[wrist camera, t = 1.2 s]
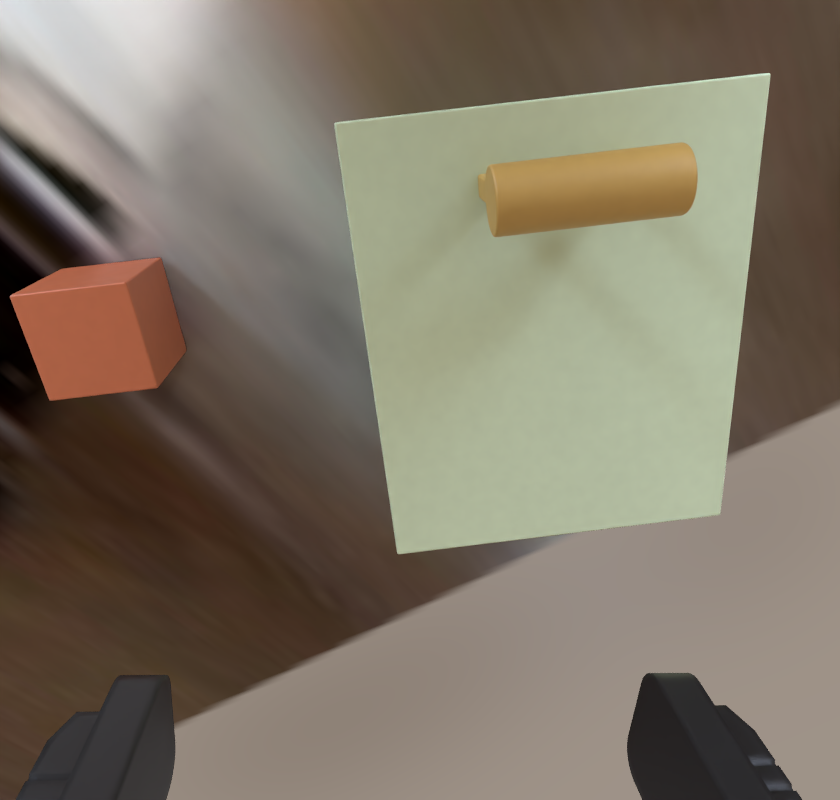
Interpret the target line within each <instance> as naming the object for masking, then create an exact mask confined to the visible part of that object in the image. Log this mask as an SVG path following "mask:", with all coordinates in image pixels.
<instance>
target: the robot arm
mask: <svg viewBox="0 0 840 800" xmlns="http://www.w3.org/2000/svg"><path fill="white" fill-rule="evenodd" d="M627 753H628V761H629V766H630V770H631V774H632V777H633V779H634V782H635V784H636V786H637V789H638V791H639V793H640V795H641V797H642V800H802V799H801V797H800V796H799V794H798V793H797V792H796V791H793V789H792V786H791V783H790V781H789V780H788V778H787V777H786V775H785V774H784V773H783V771H782V770H781V768H780V767H779V766H776V765H775V759H774V758H773V757H772V755H771V754H770V752H769V751H768V749H767V748H766V746H765V745H764V744H763V742H762V741H761V739H760V738H759V736H758V735H757V733H756V732H755V730H753V729H752V728H751V727H750V726H749V725H747V723H745V722H744V721H743V720H742V719H741V718H740V717H739V716H737V715H736V714H735V713H734V712H733V711H731V710H730V709H729V708H728V707H727V706H726V705H719V706H715V705H714V704H713V702H712V701H711V699H710V697H709V696H708V694H707V693H706V691H705V690H704V688H703V687H702V685H701V684H700V682H699V681H698V679H697V678H696V677H695V676H694V675H692V674H690V673H648V674H646V675H645V676H644V678H643V680H642V683H641V687H640V691H639V695H638V699H637V703H636V707H635V711H634V715H633V719H632V723H631V727H630V731H629V735H628V742H627ZM174 760H175V735H174V721H173V709H172V696H171V684H170V678H169V676H168V675H120V676H118V677H117V678H116V680H115V681H114V683H113V685H112V687H111V689H110V691H109V693H108V695H107V697H106V699H105V702H104V704H103V706H102V708H101V710H100V712H76V713H75V714H74V715H73V716H72V717H71V718H70V719H69V720H68V721H67V722H66V723H65V724H64V725H63V726H62V727H61V728H60V729H59V730H58V731H57V732H56V733H55V734H54V735H53V736H52V737H51V738H50V739H49V740H48V741H47V742H46V744H45V746H44V748H43V750H42V752H41V754H40V756H39V757H38V759H37V761H36V763H35V765H34V767H33V769H32V770H31V772H30V774H29V780H28V781H26V782H25V783H24V785H23V787H22V789H21V791H20V793H19V795H18V797H17V798H16V800H166V798H167V795H168V791H169V788H170V784H171V780H172V775H173V769H174Z"/></svg>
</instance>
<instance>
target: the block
mask: <svg viewBox="0 0 840 800" xmlns="http://www.w3.org/2000/svg"><path fill="white" fill-rule="evenodd" d="M10 299H11V301H12V304H13V307H14V309H15V312H16V314H17V317H18V320H19V322H20V325H21V327H22V330H23V333H24V335H25V338H26V340H27V343H28V346H29V348H30V351H31V353H32V356H33V359H34V361H35V364H36V366H37V369H38V372H39V374H40V377H41V379H42V382H43V385H44V387H45V390H46V392H47V395H48V398H49V400H50V401H53V400H62V399H70V398H78V397H87V396H95V395H104V394H112V393H121V392H129V391H137V390H146V389H154V388H158V387H159V386H160V384H161V383H162V382H163V380H164V379H165V378H166V377H167V375H168V374H169V373H170V371H171V370H172V369H173V368H174V366H175V365H176V364H177V362H178V361H179V360H180V359H181V357H182V356H183V355H184V353H185V352H186V346H185V342H184V339H183V335H182V332H181V328H180V324H179V321H178V317H177V313H176V310H175V306H174V302H173V299H172V295H171V291H170V288H169V284H168V281H167V277H166V273H165V270H164V266H163V262H162V259H161V258H160V257H159V258H150V259H142V260H133V261H124V262H116V263H107V264H99V265H90V266H81V267H73V268H64V269H61V270H59V271H57V272H55V273H53V274H51V275H49V276H47V277H45V278H43V279H41V280H39V281H37V282H36V283H34V284H32V285H30V286H28V287H26V288H24V289H22V290H20V291H18V292H16V293H14V294H12V295H11V296H10Z"/></svg>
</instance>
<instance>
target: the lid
mask: <svg viewBox="0 0 840 800" xmlns="http://www.w3.org/2000/svg"><path fill="white" fill-rule="evenodd" d="M769 84H770V74H769V73H764V74H753V75H744V76H736V77H727V78H718V79H709V80H701V81H692V82H683V83H675V84H666V85H657V86H648V87H640V88H631V89H622V90H613V91H605V92H596V93H587V94H578V95H570V96H561V97H552V98H544V99H535V100H526V101H517V102H509V103H500V104H491V105H482V106H474V107H465V108H456V109H447V110H439V111H430V112H421V113H412V114H404V115H395V116H386V117H378V118H369V119H360V120H351V121H343V122H337V123H335V124H334V128H335V134H336V141H337V148H338V155H339V161H340V168H341V175H342V182H343V189H344V195H345V202H346V209H347V216H348V223H349V229H350V236H351V243H352V250H353V256H354V263H355V270H356V277H357V284H358V290H359V297H360V304H361V311H362V318H363V324H364V331H365V338H366V345H367V351H368V358H369V365H370V372H371V379H372V385H373V392H374V399H375V406H376V413H377V419H378V426H379V433H380V440H381V446H382V453H383V460H384V467H385V474H386V480H387V487H388V494H389V501H390V508H391V514H392V521H393V528H394V535H395V541H396V548H397V553H398V554H406V553H414V552H422V551H430V550H438V549H446V548H455V547H463V546H471V545H479V544H487V543H496V542H504V541H512V540H520V539H528V538H537V537H545V536H553V535H561V534H569V533H577V532H586V531H594V530H602V529H610V528H618V527H626V526H634V525H643V524H651V523H659V522H668V521H675V520H684V519H692V518H699V517H708V516H716V515H720V511H721V503H722V494H723V485H724V477H725V468H726V459H727V451H728V442H729V433H730V425H731V416H732V407H733V398H734V390H735V381H736V372H737V363H738V355H739V346H740V337H741V328H742V320H743V311H744V302H745V293H746V285H747V276H748V267H749V259H750V250H751V241H752V232H753V224H754V215H755V206H756V197H757V189H758V180H759V171H760V162H761V154H762V145H763V136H764V127H765V119H766V110H767V101H768V93H769Z"/></svg>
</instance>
